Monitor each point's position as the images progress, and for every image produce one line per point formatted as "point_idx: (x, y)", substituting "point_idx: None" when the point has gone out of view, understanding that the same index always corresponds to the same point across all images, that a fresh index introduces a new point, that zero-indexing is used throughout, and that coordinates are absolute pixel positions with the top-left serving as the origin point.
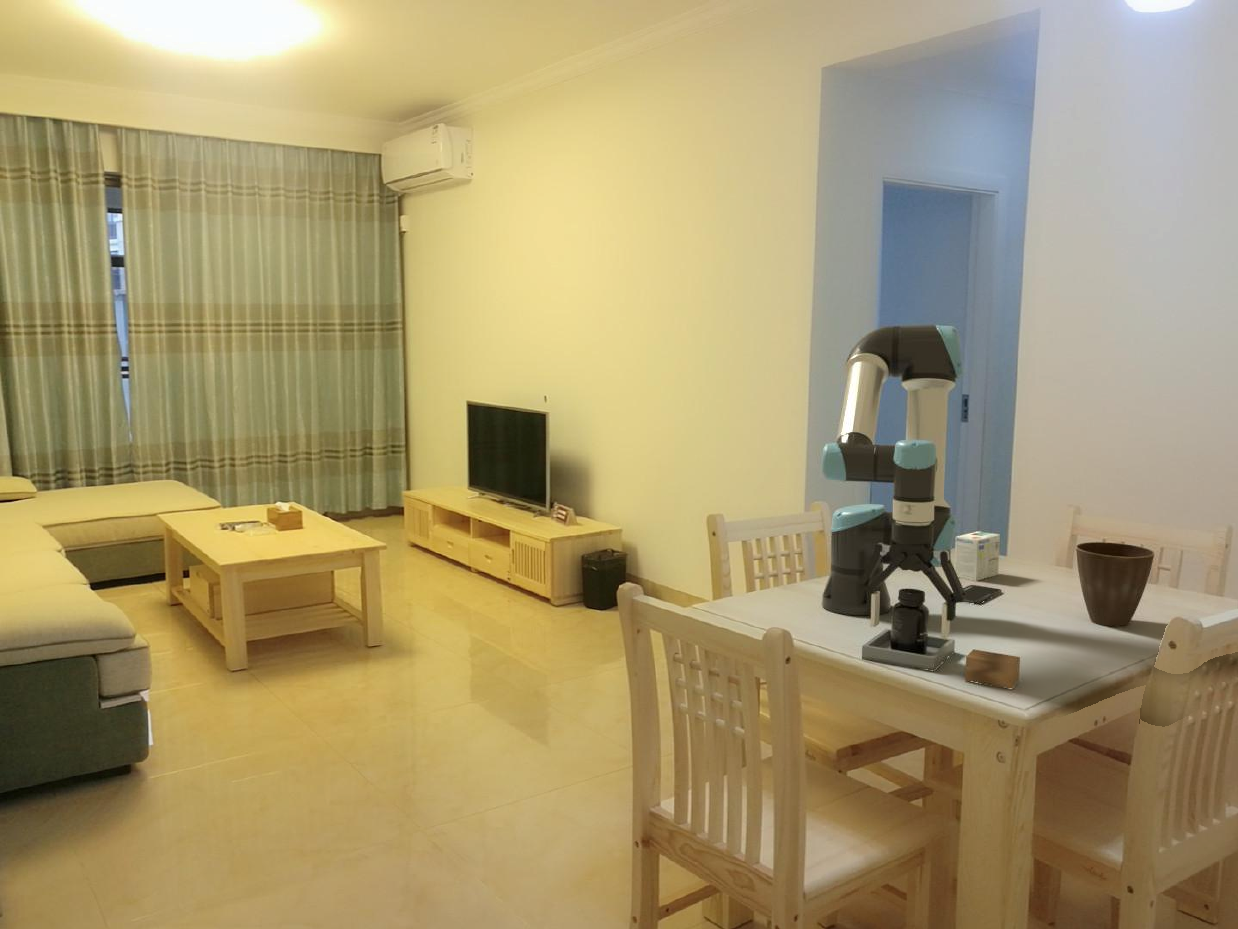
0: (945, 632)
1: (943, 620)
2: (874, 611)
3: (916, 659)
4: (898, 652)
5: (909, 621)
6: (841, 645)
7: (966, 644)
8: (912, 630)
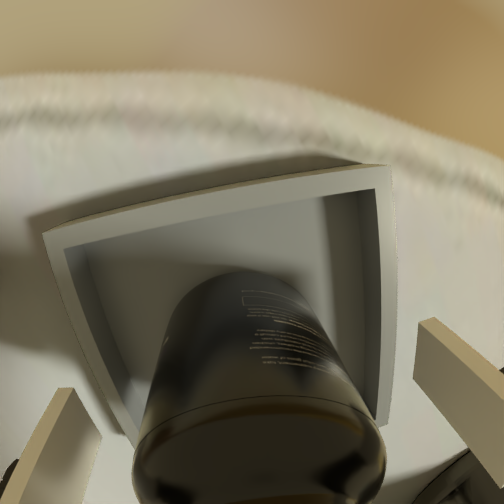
0: (48, 408)
1: (33, 450)
2: (470, 367)
3: (119, 211)
4: (205, 195)
5: (196, 379)
6: (465, 259)
7: None
8: (182, 351)
